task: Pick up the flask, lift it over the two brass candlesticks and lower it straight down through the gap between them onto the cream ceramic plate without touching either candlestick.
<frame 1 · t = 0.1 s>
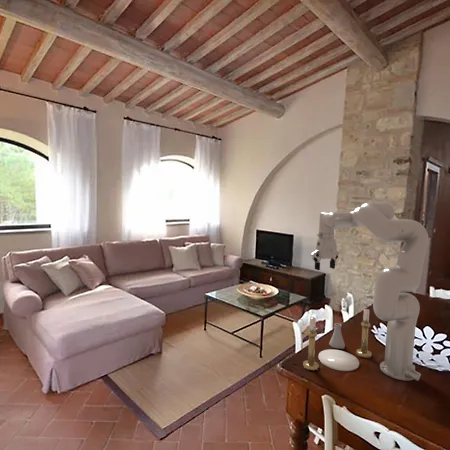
hand: (324, 268, 162), 31 cm above the table, fingers open, 9 cm apart
flask: (336, 346, 145), on the table
far candlestick: (363, 354, 137), on the table
cream plate: (338, 360, 132), on the table
near candlestick: (310, 366, 126), on the table
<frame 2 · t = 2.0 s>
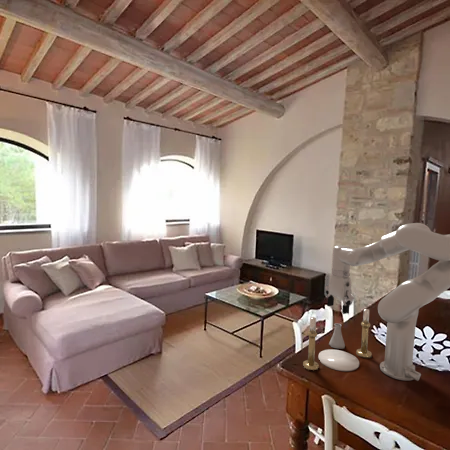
hand: (337, 309, 144), 17 cm above the table, fingers open, 9 cm apart
nothing on the table moved.
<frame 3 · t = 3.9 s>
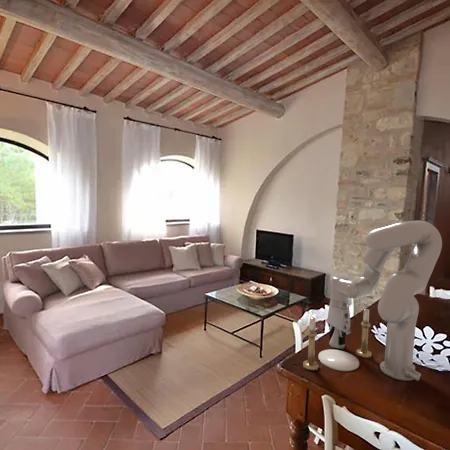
hand: (337, 341, 145), 2 cm above the table, fingers closed on flask, 5 cm apart
flask: (336, 345, 145), on the table, touching gripper
everything else where it was.
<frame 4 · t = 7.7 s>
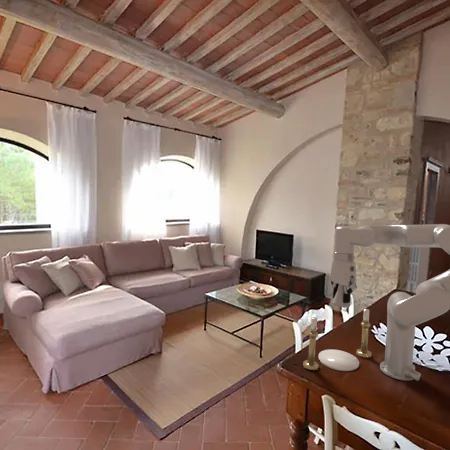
hand: (341, 300, 129), 26 cm above the table, fingers closed on flask, 5 cm apart
flask: (340, 305, 129), point 24 cm above the table, touching gripper
everything else where it was.
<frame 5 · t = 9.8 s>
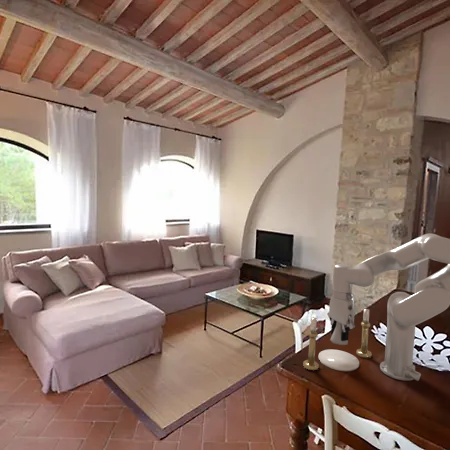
hand: (339, 336, 131), 10 cm above the table, fingers closed on flask, 5 cm apart
flask: (339, 342, 131), point 8 cm above the table, touching gripper
everything else where it was.
when the fingers open (4 cm above the table, at t = 11.5 s): flask stays where it is, resting on cream plate.
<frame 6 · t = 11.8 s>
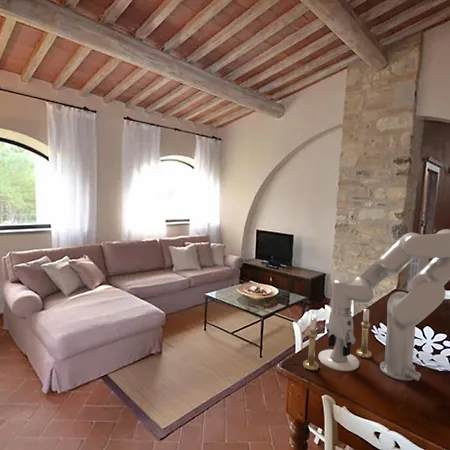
hand: (338, 350, 131), 4 cm above the table, fingers open, 8 cm apart
flask: (338, 359, 132), point 1 cm above the table, touching cream plate
everything else where it was.
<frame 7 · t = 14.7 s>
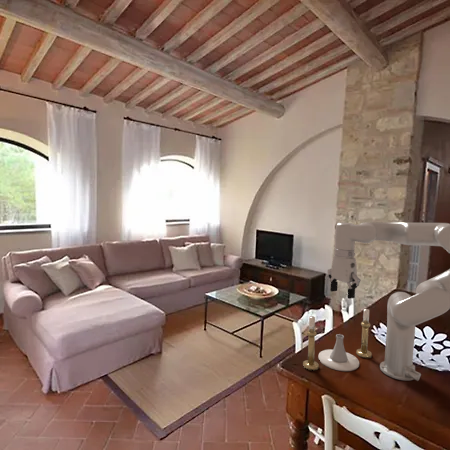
hand: (342, 294, 129), 28 cm above the table, fingers open, 9 cm apart
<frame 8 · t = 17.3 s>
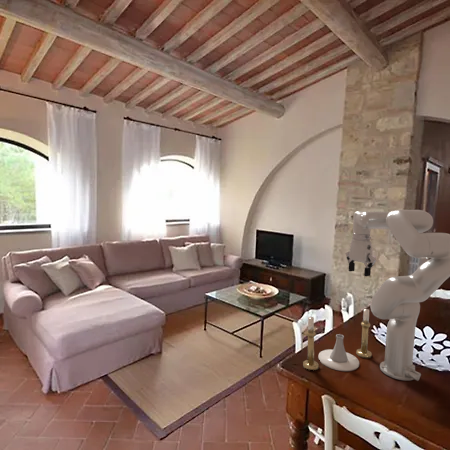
hand: (359, 273, 149), 32 cm above the table, fingers open, 9 cm apart
nothing on the table moved.
at the end: flask 0.1 cm off-centre on the cream plate, point 0.6 cm above the cream plate's base; near candlestick moved 0.1 cm from its start; far candlestick moved 0.0 cm from its start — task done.
